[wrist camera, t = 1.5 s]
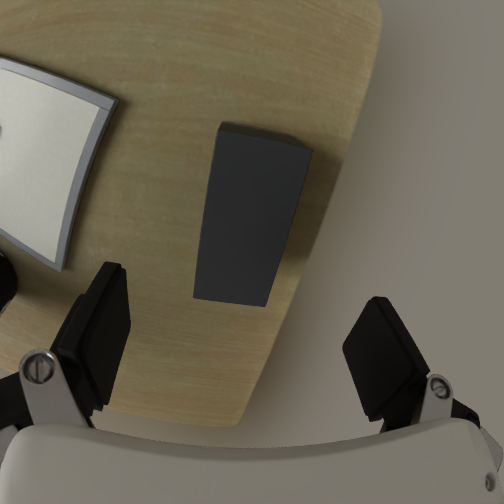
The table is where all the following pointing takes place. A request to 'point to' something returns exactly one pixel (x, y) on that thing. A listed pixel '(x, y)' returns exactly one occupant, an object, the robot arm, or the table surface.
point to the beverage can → (6, 283)
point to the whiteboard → (45, 155)
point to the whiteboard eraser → (248, 212)
